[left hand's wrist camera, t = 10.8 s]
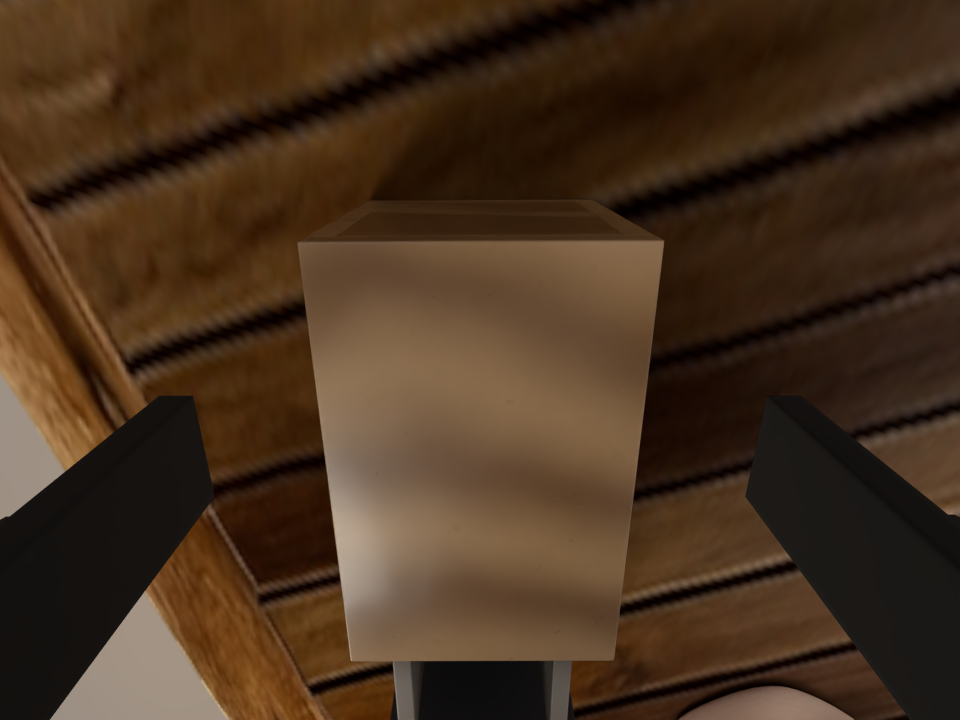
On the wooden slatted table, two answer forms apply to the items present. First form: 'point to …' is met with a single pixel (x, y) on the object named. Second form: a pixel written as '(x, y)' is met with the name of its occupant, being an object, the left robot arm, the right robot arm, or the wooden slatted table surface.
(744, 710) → the anatomical model
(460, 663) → the drawer
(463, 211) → the cabinet
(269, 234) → the wooden slatted table surface
